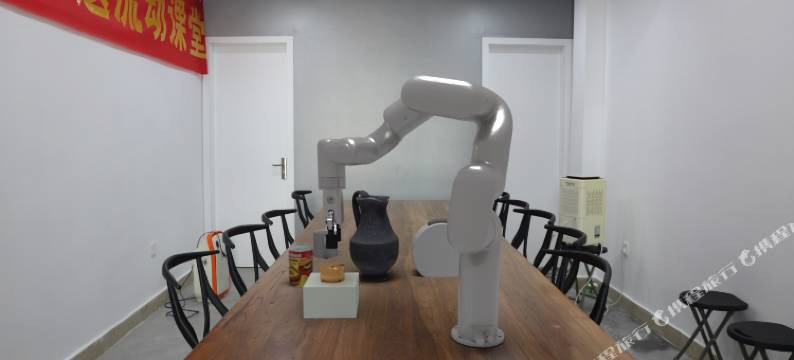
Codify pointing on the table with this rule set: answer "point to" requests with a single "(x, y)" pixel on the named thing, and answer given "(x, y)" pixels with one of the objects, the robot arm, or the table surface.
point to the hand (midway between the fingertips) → (333, 244)
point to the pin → (332, 272)
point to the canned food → (300, 265)
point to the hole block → (331, 297)
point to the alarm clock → (434, 251)
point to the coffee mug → (321, 245)
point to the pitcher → (372, 237)
